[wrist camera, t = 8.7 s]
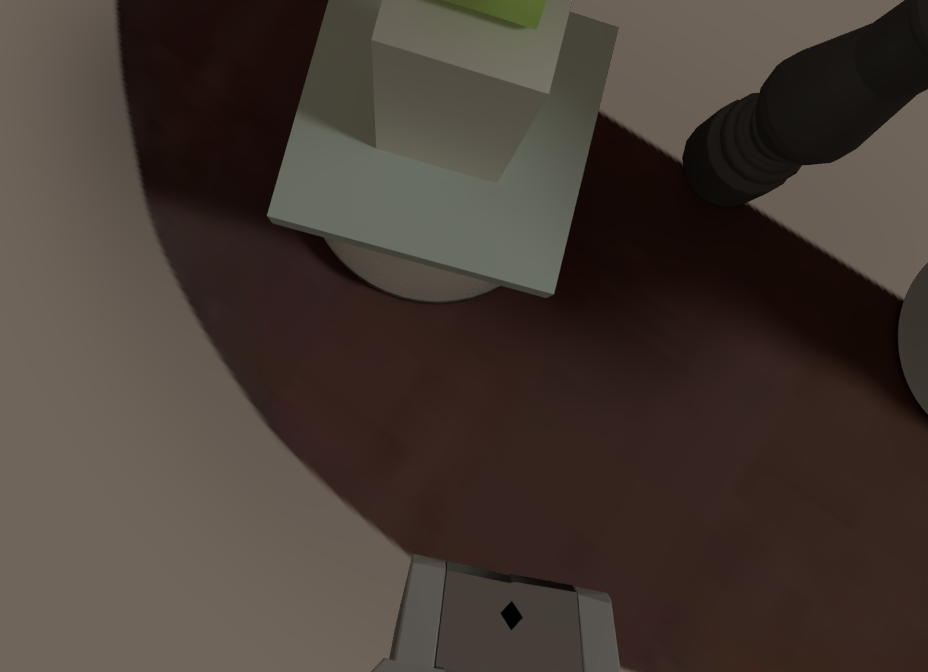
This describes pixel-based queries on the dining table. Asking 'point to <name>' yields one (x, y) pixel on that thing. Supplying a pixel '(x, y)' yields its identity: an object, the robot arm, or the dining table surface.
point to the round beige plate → (408, 277)
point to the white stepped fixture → (447, 133)
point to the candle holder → (811, 108)
